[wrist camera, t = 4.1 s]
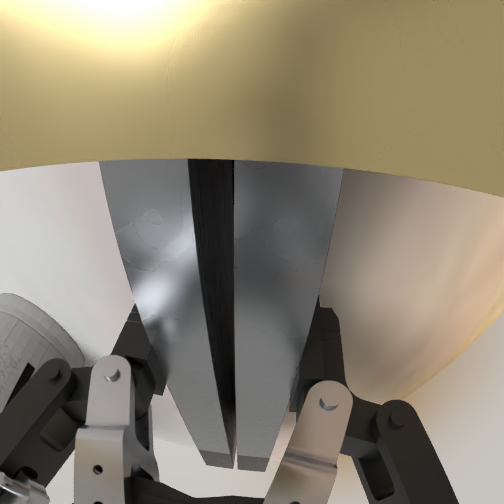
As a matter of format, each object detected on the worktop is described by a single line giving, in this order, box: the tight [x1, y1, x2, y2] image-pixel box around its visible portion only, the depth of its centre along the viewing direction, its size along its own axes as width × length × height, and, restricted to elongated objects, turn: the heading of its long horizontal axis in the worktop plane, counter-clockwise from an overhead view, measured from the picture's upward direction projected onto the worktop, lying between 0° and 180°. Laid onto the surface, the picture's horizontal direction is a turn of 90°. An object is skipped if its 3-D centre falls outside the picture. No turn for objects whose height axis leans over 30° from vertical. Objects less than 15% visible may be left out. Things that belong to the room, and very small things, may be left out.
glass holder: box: [0, 293, 84, 413], centre depth 12 cm, size 9×14×15 cm, turn 98°
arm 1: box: [99, 159, 237, 469], centre depth 13 cm, size 20×2×4 cm, turn 0°
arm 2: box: [234, 160, 344, 472], centre depth 12 cm, size 20×2×4 cm, turn 178°
